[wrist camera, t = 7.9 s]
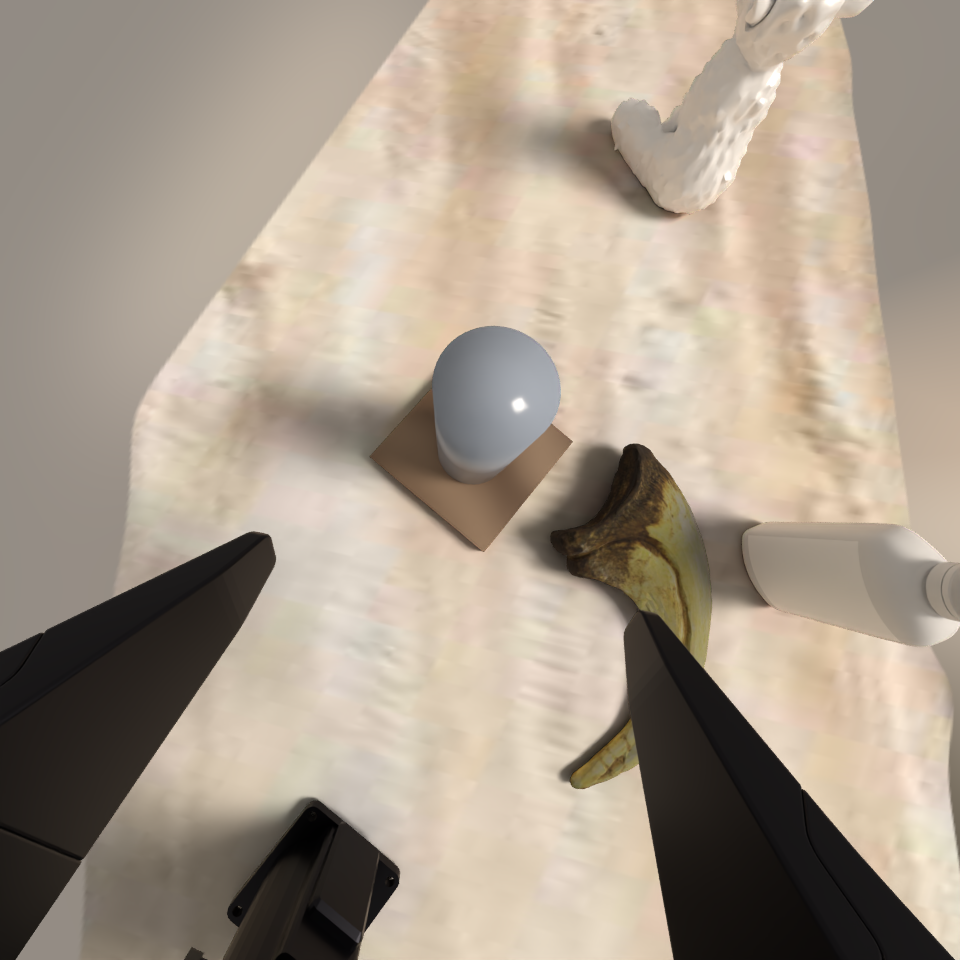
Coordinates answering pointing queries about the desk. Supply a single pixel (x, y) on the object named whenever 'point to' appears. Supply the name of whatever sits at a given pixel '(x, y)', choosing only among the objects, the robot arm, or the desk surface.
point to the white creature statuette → (720, 104)
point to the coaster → (458, 503)
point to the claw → (643, 572)
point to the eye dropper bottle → (856, 578)
